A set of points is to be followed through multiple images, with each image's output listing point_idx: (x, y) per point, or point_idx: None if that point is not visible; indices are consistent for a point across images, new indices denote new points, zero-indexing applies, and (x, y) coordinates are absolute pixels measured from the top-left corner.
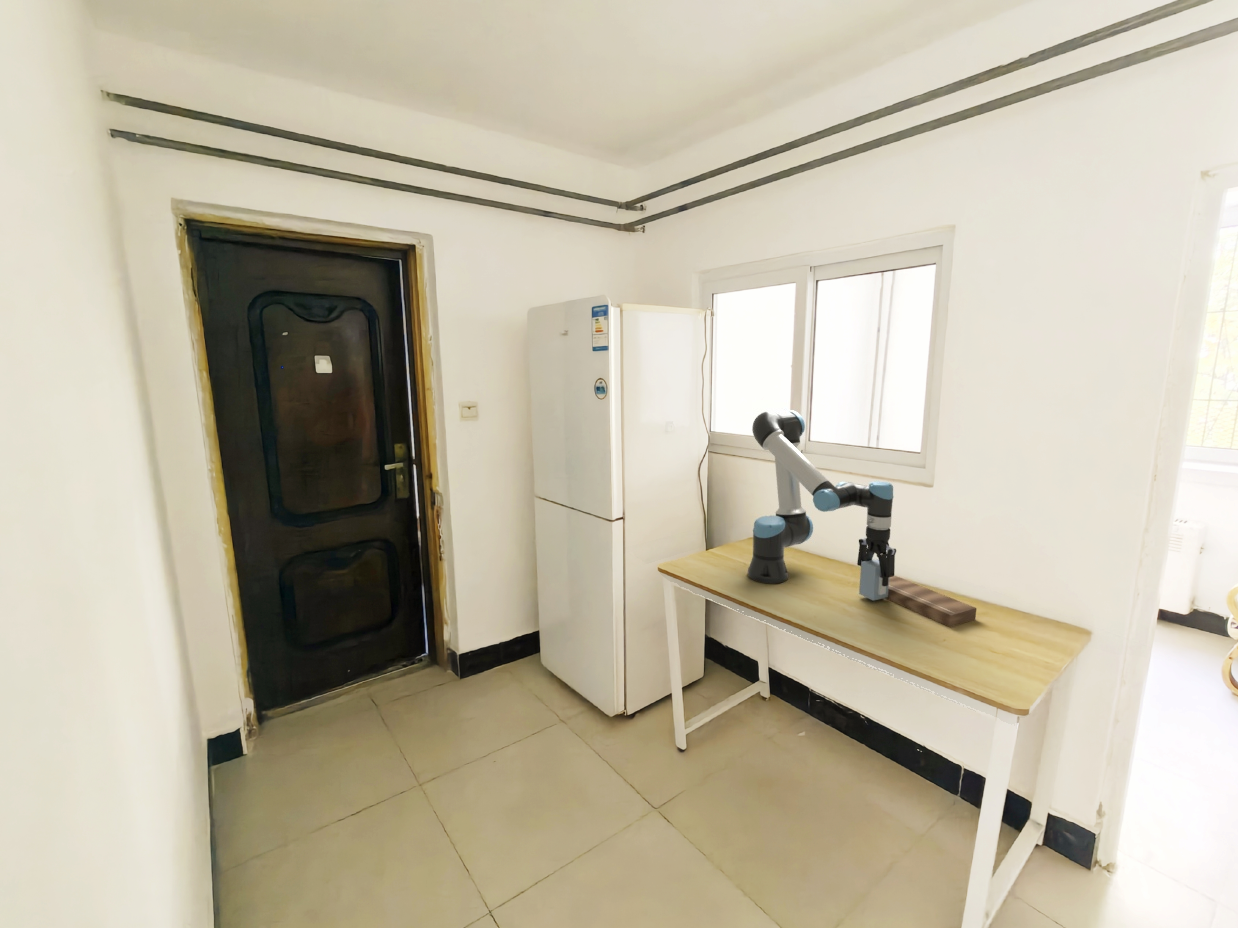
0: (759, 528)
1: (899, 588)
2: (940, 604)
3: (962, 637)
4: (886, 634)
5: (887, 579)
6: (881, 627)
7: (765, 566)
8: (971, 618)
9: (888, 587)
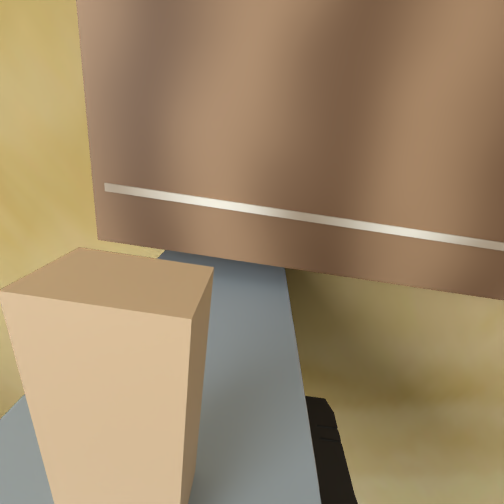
0: None
1: (334, 188)
2: None
3: None
4: (430, 494)
5: (346, 486)
6: (396, 471)
7: None
8: None
9: (289, 302)
